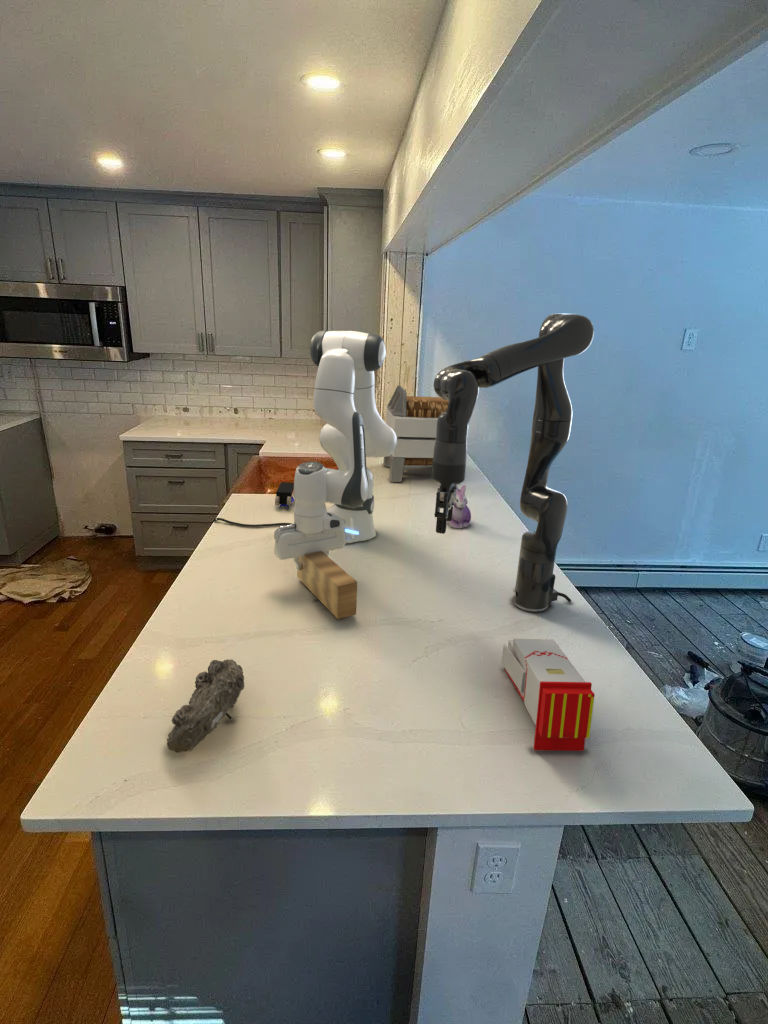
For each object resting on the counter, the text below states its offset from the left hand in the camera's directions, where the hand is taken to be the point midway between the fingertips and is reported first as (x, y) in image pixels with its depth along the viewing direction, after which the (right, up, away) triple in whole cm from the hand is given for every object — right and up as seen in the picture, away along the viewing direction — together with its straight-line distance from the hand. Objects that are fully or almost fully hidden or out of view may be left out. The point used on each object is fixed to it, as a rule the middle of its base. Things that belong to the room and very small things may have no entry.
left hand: (310, 567), depth 160 cm
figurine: (+49, +11, +51) cm, 71 cm away
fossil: (-12, -24, -52) cm, 58 cm away
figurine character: (-18, +18, +63) cm, 68 cm away
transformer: (+38, +34, +115) cm, 126 cm away
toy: (+52, -24, -44) cm, 72 cm away
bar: (+5, -7, -6) cm, 10 cm away
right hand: (+35, +12, -27) cm, 46 cm away
